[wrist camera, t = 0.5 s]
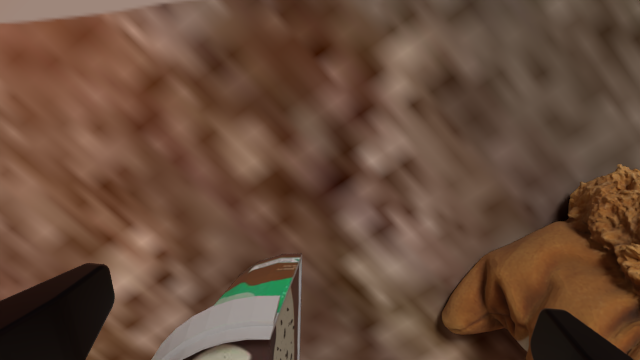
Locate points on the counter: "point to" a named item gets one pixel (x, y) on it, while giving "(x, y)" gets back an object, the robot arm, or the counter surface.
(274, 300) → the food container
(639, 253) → the stuffed squirrel
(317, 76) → the counter surface
